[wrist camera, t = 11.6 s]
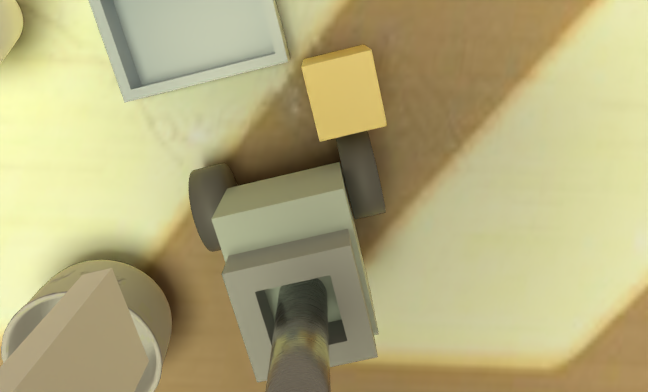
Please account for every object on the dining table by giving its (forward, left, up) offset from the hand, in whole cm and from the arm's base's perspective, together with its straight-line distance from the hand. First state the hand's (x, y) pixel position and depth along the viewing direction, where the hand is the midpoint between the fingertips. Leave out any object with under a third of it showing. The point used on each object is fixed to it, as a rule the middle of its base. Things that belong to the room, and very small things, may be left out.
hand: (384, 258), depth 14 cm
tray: (-9, +7, -29) cm, 31 cm away
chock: (0, +1, -29) cm, 29 cm away
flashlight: (-5, -10, -19) cm, 22 cm away
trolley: (-5, -9, -29) cm, 30 cm away
